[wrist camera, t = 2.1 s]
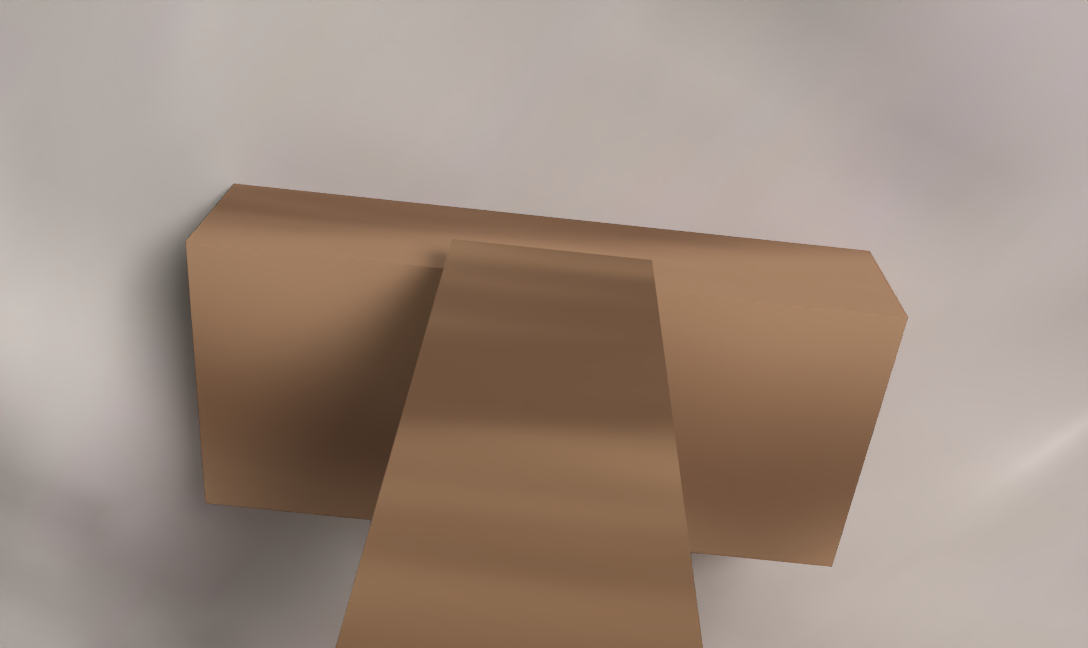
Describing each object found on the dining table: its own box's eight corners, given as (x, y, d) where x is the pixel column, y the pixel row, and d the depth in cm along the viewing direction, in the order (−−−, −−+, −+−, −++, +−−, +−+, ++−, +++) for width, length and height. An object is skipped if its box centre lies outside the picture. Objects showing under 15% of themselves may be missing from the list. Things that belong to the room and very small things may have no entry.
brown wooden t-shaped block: (233, 154, 17) (-305, 749, 7) (875, 223, 18) (1307, 905, 7) (246, 422, 20) (-129, 1148, 10) (805, 479, 20) (1041, 1255, 10)
